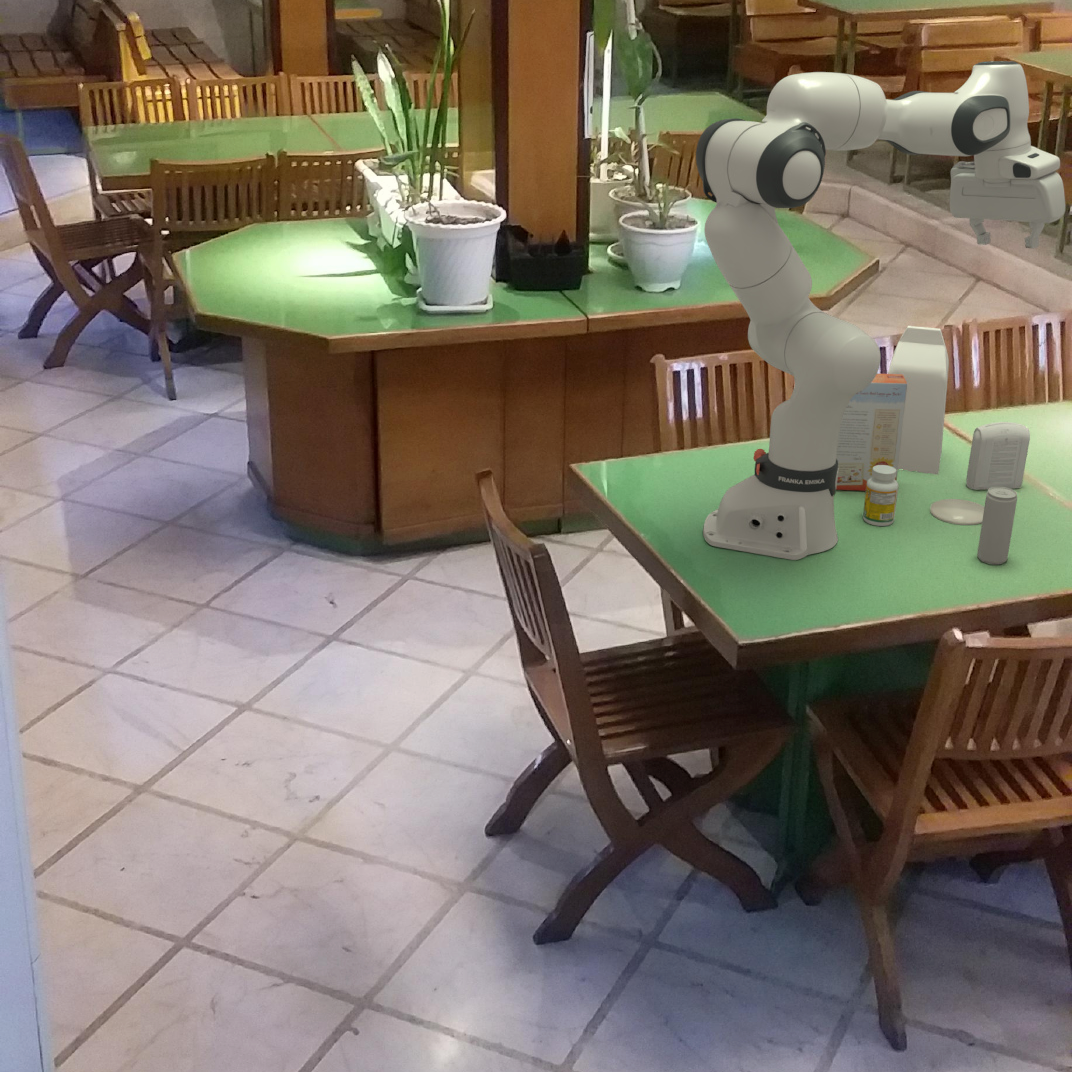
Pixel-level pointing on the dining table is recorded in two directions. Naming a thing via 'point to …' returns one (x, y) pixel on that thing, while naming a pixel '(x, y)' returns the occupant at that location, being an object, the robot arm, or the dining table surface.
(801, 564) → the dining table surface
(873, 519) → the supplement bottle
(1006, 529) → the beverage can
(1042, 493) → the dining table surface
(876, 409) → the cracker box
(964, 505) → the white domed disc
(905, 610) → the dining table surface
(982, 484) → the photo printer
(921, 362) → the milk
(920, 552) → the dining table surface
